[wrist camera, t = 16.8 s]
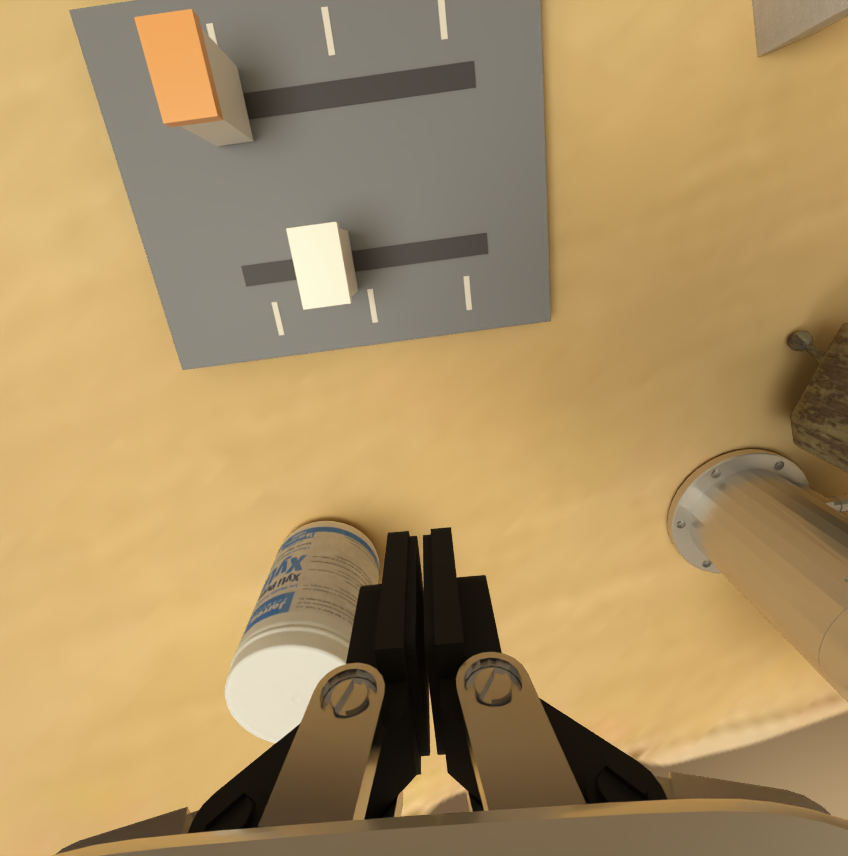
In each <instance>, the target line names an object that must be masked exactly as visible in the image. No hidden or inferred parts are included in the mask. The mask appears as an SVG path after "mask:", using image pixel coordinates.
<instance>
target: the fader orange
mask: <svg viewBox="0 0 848 856" xmlns="http://www.w3.org/2000/svg"><path fill="white" fill-rule="evenodd" d="M134 19H135V23H136V26H137V30H138V33H139V37H140V41H141V44H142V48H143V51H144V55H145V59H146V62H147V66H148V70H149V73H150V77H151V80H152V84H153V88H154V91H155V95H156V98H157V102H158V106H159V109H160V113H161V116H162V120H163V124H165V125H167V126H169V127H178V126H181V127H182V128H184V129H186V130H188V131H190V132H192V133H193V134H195V135H197V136H199V137H201V138H203V139H204V140H206V141H208V142H210V143H212V144H213V145H215V146H222V145H230V144H237V143H244V142H251V141H253V136H252V132H251V127H250V123H249V118H248V114H247V109H246V105H245V100H244V96H243V91H242V87H241V82H240V78H239V73H238V69H237V66H236V65H235V64H234V63H233V62H232V61H231V60H230V58H229V57H228V56H227V55H226V54H225V53H224V52H223V51H222V50H221V49H220V48H219V47H218V45H217V44H216V43H215V42H214V41H213V40H212V39H211V38H210V37H209V36H208V35H207V34H206V33H205V31H204V30H203V29H202V28H201V24H200V20H199V16H198V15H197V14H196V13H195V12H194V11H193V10H192V9H187V10H180V11H173V12H166V13H159V14H152V15H145V16H138V17H134Z"/></svg>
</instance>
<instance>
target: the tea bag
mask: <svg viewBox="0 0 848 856" xmlns="http://www.w3.org/2000/svg"><path fill="white" fill-rule="evenodd" d="M752 6H753V16H754V26H755V36H756V46H757V56H758V57H760V56H762V55H764V54H767V53H769V52H772V51H774V50H777V49H779V48H781V47H784V46H786V45H789V44H791V43H793V42H796V41H798V40H801V39H803V38H805V37H808V36H810V35H813V34H815V33H817V32H818V31H820V30H822V29H824V28H826V27H828V26H830V25H832V24H833V23H835V22H837V21H839V20H841V19H843V18H845V17H847V16H848V0H752Z"/></svg>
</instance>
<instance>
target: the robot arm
mask: <svg viewBox="0 0 848 856" xmlns="http://www.w3.org/2000/svg"><path fill="white" fill-rule="evenodd" d="M846 511H848V495H842V496H834V497H831V498H826V497H824V496H822V495H821V494H819V493H817V492H815V491H814V490H812V489H810V486H809V482H808V480H807V478H806V476H805V474H804V473H803V472H802V470H801V469H800V468H799V467H798V466H797V465H796V464H794V463H793V462H791V461H790V460H788V459H787V458H785V457H783V456H781V455H779V454H777V453H774V452H770V451H766V450H760V449H746V450H738V451H733V452H730V453H727V454H723V455H721V456H719V457H717V458H715V459H712V460H710V461H709V462H707V463H706V464H704V465H703V466H701V467H700V468H698V469H697V470H696V471H695V472H694V473H692V474H691V475H690V476H689V477H688V478H687V479H686V480H685V482H684V483H683V484H682V485H681V487H680V488H679V489H678V491H677V493H676V495H675V496H674V498H673V500H672V503H671V506H670V509H669V512H668V521H667V526H668V534H669V537H670V540H671V542H672V544H673V546H674V547H675V549H676V550H677V552H678V553H679V554H680V555H681V556H682V557H683V558H684V559H685V560H686V561H687V562H689V563H690V564H691V565H693V566H694V567H697V568H699V569H701V570H704V571H708V572H713V573H722V574H723V575H724V576H725V577H726V578H727V579H728V580H729V581H730V582H731V583H732V584H733V585H734V586H735V587H736V588H737V589H738V590H739V591H740V593H741V594H742V595H743V596H744V597H745V598H746V599H747V600H748V601H749V602H750V603H751V604H752V605H753V606H754V607H755V608H756V609H757V610H758V611H759V612H760V613H761V614H762V615H763V616H764V617H765V618H766V619H767V620H768V621H769V622H770V623H771V624H772V625H773V626H774V627H775V628H776V629H777V630H778V632H779V633H780V634H781V635H782V636H783V637H784V638H785V639H786V640H787V641H788V642H789V643H790V644H791V645H792V646H793V647H794V648H795V649H796V650H797V651H798V652H799V653H800V654H801V655H802V656H803V657H804V658H805V659H806V660H807V661H808V662H809V663H810V664H811V665H812V666H813V667H814V668H815V669H816V670H817V672H818V673H819V674H820V675H821V676H822V677H823V678H824V679H825V680H826V681H827V682H828V683H829V684H830V685H831V686H832V687H833V688H834V689H835V690H836V691H837V692H838V693H839V694H840V695H841V696H842V697H843V698H844V699H845V700H847V701H848V516H845V515H844V514H842V513H840V512H846ZM423 573H424V590H423V582H422V573H421V565H420V556H419V547H418V539H417V536H410V535H409V531H404V532H392V533H388V536H387V545H386V553H385V562H384V570H383V579H382V584H375V585H363V586H361V587H360V590H359V594H358V600H357V605H356V611H355V616H354V622H353V627H352V633H351V638H350V644H349V649H348V654H347V660H346V664H345V665H342V666H339V667H337V668H335V669H333V670H332V671H330V672H328V673H327V674H326V675H325V676H324V677H323V678H322V679H321V680H320V681H319V683H318V684H317V686H316V688H315V689H314V691H313V694H312V696H311V699H310V701H309V704H308V706H307V708H306V711H305V713H304V716H303V718H302V721H301V723H300V724H299V725H298V726H296V727H295V728H294V729H293V730H291V731H290V732H289V733H288V734H287V735H285V736H284V737H283V738H282V739H280V740H279V741H278V742H277V743H276V744H274V745H273V746H272V747H271V748H269V749H268V750H267V751H266V752H265V753H263V754H262V755H261V756H260V757H258V758H257V759H256V760H255V761H254V762H252V763H251V764H250V765H249V766H247V767H246V768H245V769H244V770H243V771H241V772H240V773H239V774H238V775H236V776H235V777H234V778H233V779H232V780H230V781H229V782H228V783H227V784H225V785H224V786H223V787H222V788H221V789H219V790H218V791H217V792H216V793H214V794H213V795H212V796H211V797H210V798H209V799H208V800H207V801H206V802H205V803H204V804H203V805H202V807H201V808H200V810H198V811H195V812H192V813H190V811H189V809H188V807H185V808H182V809H179V810H176V811H173V812H169V813H166V814H163V815H160V816H157V817H153V818H150V819H147V820H144V821H141V822H137V823H134V824H131V825H128V826H125V827H122V828H118V829H115V830H112V831H109V832H106V833H102V834H99V835H96V836H93V837H90V838H86V839H83V840H80V841H78V842H76V843H73V844H71V845H69V846H67V847H65V848H63V849H62V850H60V851H59V852H58V853H56V854H55V855H53V856H848V820H845V819H842V818H839V817H836V816H832V815H831V814H830V813H829V812H828V811H826V809H824V808H823V807H822V806H821V805H819V804H817V803H816V802H814V801H812V800H811V799H809V798H807V797H806V796H804V795H801V794H798V793H795V792H791V791H788V790H784V789H777V788H771V787H765V786H759V785H753V784H745V783H740V782H734V781H727V780H721V779H715V778H708V777H702V776H696V775H689V774H683V773H677V772H671V771H670V772H669V778H666V777H660V776H654V775H653V774H652V773H651V772H650V771H649V770H648V769H647V768H645V767H644V766H643V765H642V764H640V763H639V762H638V761H636V760H635V759H633V758H632V757H630V756H629V755H627V754H625V753H624V752H622V751H621V750H619V749H618V748H616V747H615V746H613V745H611V744H610V743H608V742H607V741H605V740H604V739H602V738H601V737H599V736H598V735H596V734H594V733H593V732H591V731H590V730H588V729H587V728H585V727H584V726H582V725H580V724H579V723H577V722H576V721H574V720H573V719H571V718H570V717H568V716H566V715H565V714H563V713H562V712H560V711H559V710H557V709H556V708H554V707H553V706H551V705H549V704H548V703H546V702H545V701H543V700H542V699H540V698H539V697H538V695H537V692H536V690H535V688H534V686H533V684H532V681H531V679H530V677H529V675H528V673H527V671H526V670H525V668H524V667H523V665H522V664H521V663H519V662H518V661H517V660H516V659H515V658H513V657H511V656H508V655H506V654H503V653H502V652H501V648H500V643H499V638H498V633H497V628H496V623H495V618H494V614H493V609H492V604H491V599H490V594H489V589H488V584H487V580H486V576H485V575H481V576H469V577H458V578H457V577H456V569H455V560H454V551H453V542H452V533H451V527H449V528H438V529H431V535H423ZM429 689H430V697H431V705H432V713H433V721H434V729H435V737H436V746H437V753H438V755H443V754H446V762H447V770H448V773H449V774H450V775H451V776H452V777H453V778H454V779H455V780H456V781H457V782H459V783H460V784H461V785H462V786H463V787H464V788H465V789H466V790H467V800H468V804H469V809H470V812H461V813H447V814H433V815H418V816H405V817H401V812H402V806H403V789H404V788H405V787H406V786H407V785H408V784H409V783H410V782H411V781H412V780H413V778H414V777H415V776H416V775H418V774H421V756H429V755H430V723H429Z"/></svg>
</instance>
